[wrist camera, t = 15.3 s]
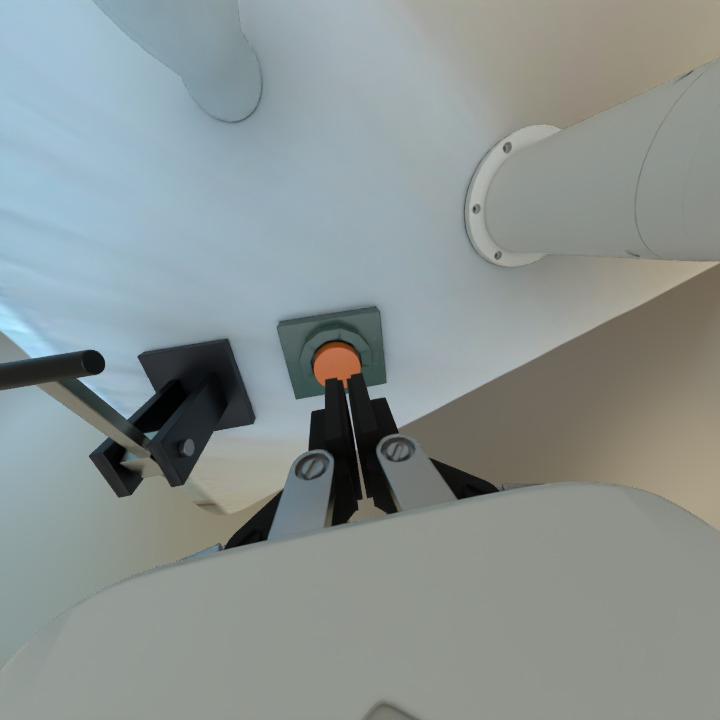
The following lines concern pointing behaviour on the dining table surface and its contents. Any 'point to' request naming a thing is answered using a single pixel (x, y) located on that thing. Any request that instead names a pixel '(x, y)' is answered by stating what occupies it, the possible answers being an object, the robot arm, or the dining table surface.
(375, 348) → the block
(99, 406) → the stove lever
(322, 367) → the button
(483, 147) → the dining table surface
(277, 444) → the dining table surface
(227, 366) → the lever bracket
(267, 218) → the dining table surface
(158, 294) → the dining table surface
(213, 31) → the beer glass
